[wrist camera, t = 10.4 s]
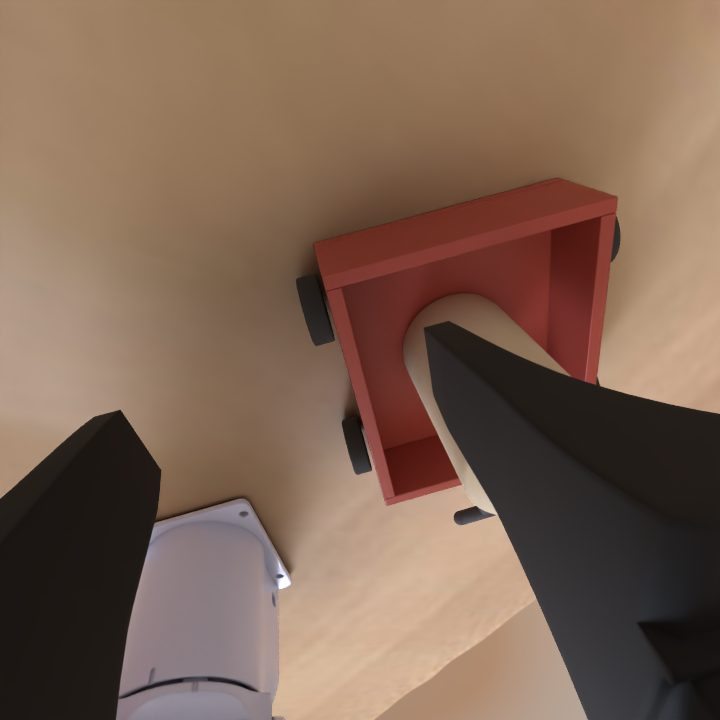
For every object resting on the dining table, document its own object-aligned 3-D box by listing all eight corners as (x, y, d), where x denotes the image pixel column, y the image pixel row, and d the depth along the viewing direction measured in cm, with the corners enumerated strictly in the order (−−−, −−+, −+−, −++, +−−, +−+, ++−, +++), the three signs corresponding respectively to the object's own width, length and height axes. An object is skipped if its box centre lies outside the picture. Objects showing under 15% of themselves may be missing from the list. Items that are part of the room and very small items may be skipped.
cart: (548, 402, 26) (589, 448, 23) (371, 453, 26) (386, 506, 23) (558, 177, 19) (619, 196, 16) (312, 243, 19) (321, 276, 15)
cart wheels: (562, 450, 29) (593, 489, 26) (369, 505, 29) (379, 551, 26) (580, 191, 20) (632, 209, 17) (294, 268, 19) (298, 300, 16)
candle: (485, 270, 20) (635, 398, 12) (518, 353, 23) (657, 502, 15) (382, 328, 21) (456, 488, 13) (427, 402, 24) (510, 571, 16)
